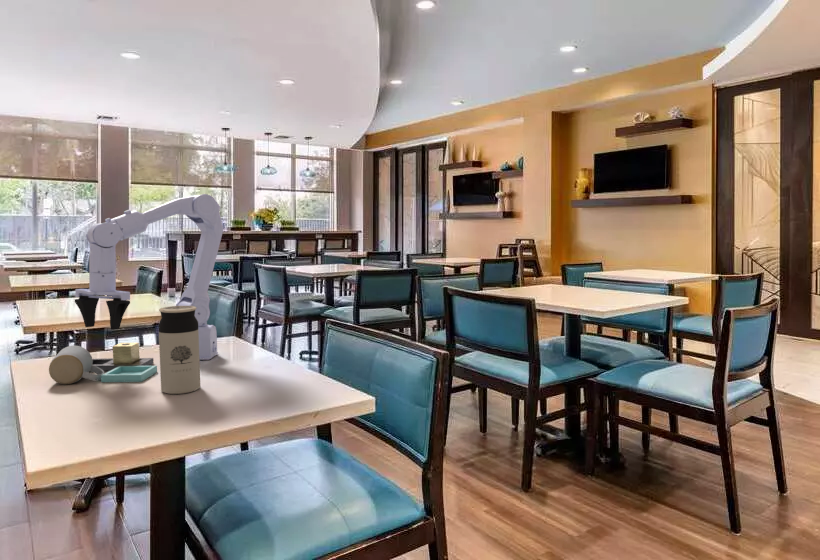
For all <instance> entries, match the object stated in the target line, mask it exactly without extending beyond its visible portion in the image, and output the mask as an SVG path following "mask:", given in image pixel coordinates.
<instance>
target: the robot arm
mask: <svg viewBox="0 0 820 560" xmlns="http://www.w3.org/2000/svg"><path fill="white" fill-rule="evenodd" d="M220 210H221V206H220V204H219V203H218V201H217V200H216V199H215V197H213V196H212V195H211V194H208V193H202V194H199V195H198V194H197V195H194V194H191V195H188V196H185V197H180V198H175V199H172V200H169V201H168V202H165V203H163V204H160V205H157V206H156V207H153V208H150V209H147V210H146V211H144V212H141V211H138V210H131V209H127V210H125V211H123V214H122V215H118V216H116V217H113V218H110V217H108V218H105V219H104V221H105V222H102V223H95V224H93V225H91V226H90V227H89V228H88V231H87V233H86V234H85V236H86V239H87V242H88V243H89V254H88V255H89V262H88V263H89V266H88V267H89V268H88V269H89V271H88V272H89V276H88V277H89V278H88V279H89V285H88V286H89V287H88V288H76V289H75V291H74V293H75V296H74V297H75V298H76V299H74V303H75V304H76V306H77V308H78V309H79V311H80V314H81V316H82V321H83V324H84V326H85V328H92V327H93V328H94V327H95V325H96V311H97V306H98V304H99V300H100V299H105V300H106V301H105V303H106V305H107V309H108V312H109V324H110V325H109V327H110V330H111V331H112V330H113V331H114V330H119V329H120V327H121V325H122V320H123V317H124V316H125V312H126V310H127V308H128V307H129V305H130V304H131V292H130V291H125V290H117V253H116V248H117V247H116V246H117V244H118V243H119V242H120V241H121V242H122V241H124V240H125V241H126V240H127V239H129V238H131V237H134V236H136V235H139V234H141V233H144V232H146V230H147V228H148V226H149V225H150V224H153V223H155V222H158V221H161V220H163V219H167V218H169V217H172V216H175V215H178V216H184V215H185V216H186V217H187V218H188V219H190V220H191V221H192V222H194V223H195V225H196V226H197V228H198V229H199V230H200V232H201V233H200V239H199V240H198V241H199V242H198V246H197V250H196V253H195V256H194V261H193V263H192V264H193V265H192V269H191V272H190V275H189V276H190V277H189V279H188V284H187V287H186V289H185V290H184V291H183V292H182V294H181V295H180V299H179V301H177V303H176V305H175V306H195V307H196V310H195V315H194V316H195V318H196V319H197V321H198V332H199V360H200V361H202V360H203V361H205V360H207V361H209V360H212V358H214V357H215V356H216V355H218V354H219V352H218V337H217V336H218V334H217V327H216V326H215V325H214V324H208V321H209V319H210V315H211V310H210V302H211V299H210V295H209V293H208V291H209V287H210V284H211V279H212V277H213V276H212V275H213V272H214V268H215V264H216V260H217V256H218V253H219V248H220V244H221V240H222V236H223V231H224V226H223V221H222V218H221V213H220Z"/></svg>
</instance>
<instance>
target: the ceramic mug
mask: <svg viewBox="0 0 820 560" xmlns="http://www.w3.org/2000/svg"><path fill="white" fill-rule="evenodd" d="M92 359H93V356H92V354H91V352H90V351H88V349H86V348H85V347H83V346H81V345H69V346H66V347H64V348H62V349H61V350H60V351H58V353H57V354H56V356H54V357H53V358H52V360H51V361H50V363H49V367H48V374H49V376H50V378H51V379H52V380H53V381H54V382H56V383H58V384H60V385H71V384H75V383H76V382H78V381H80V380H81V379H82V378H83V379H86V380H90V381H101V375H103V374H105V372H104V371H103V370H102V369H100V368H99V367H97V366H94V365H92V363H93V360H92ZM89 371H91V372H89Z"/></svg>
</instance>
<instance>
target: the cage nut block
mask: <svg viewBox="0 0 820 560" xmlns="http://www.w3.org/2000/svg"><path fill="white" fill-rule="evenodd" d="M140 356H141V355H140V343H139V342H120V343H117V344H115V345H113V346H112V358H113V364H135V363H136V362H138V361H140V358H141V357H140Z"/></svg>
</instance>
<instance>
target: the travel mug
mask: <svg viewBox="0 0 820 560" xmlns="http://www.w3.org/2000/svg"><path fill="white" fill-rule="evenodd" d="M195 310H196V307H195V306H176V305H174V306H173V305H171V306H165V307H161V308H159V309H158V311H159V312H160V315H161V318H160V321H159V323H158V347H159V367H160V368H159V369H160V370H159V372H160V391H161V392H162V393H165V394H168V395H185V394H189V393H193V392H195V391H197V390H198V389H200V388H201V369H200V367H201V366H200V365H201V362H200V361H201V360H199V332H198V321H197V319H196V318H195V316H194V315H195Z"/></svg>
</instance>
